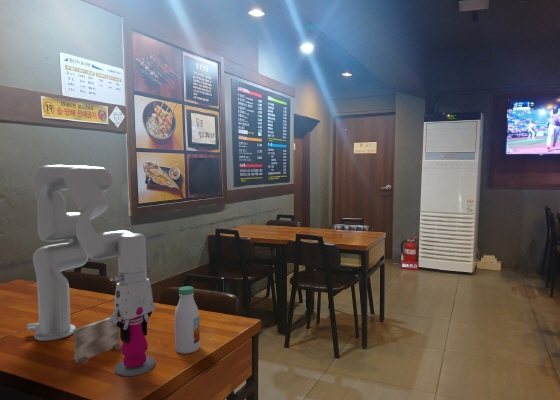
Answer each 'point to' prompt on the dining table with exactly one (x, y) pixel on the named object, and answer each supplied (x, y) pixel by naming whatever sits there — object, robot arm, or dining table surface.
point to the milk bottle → (187, 322)
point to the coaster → (135, 368)
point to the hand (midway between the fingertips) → (134, 337)
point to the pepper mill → (135, 343)
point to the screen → (95, 340)
